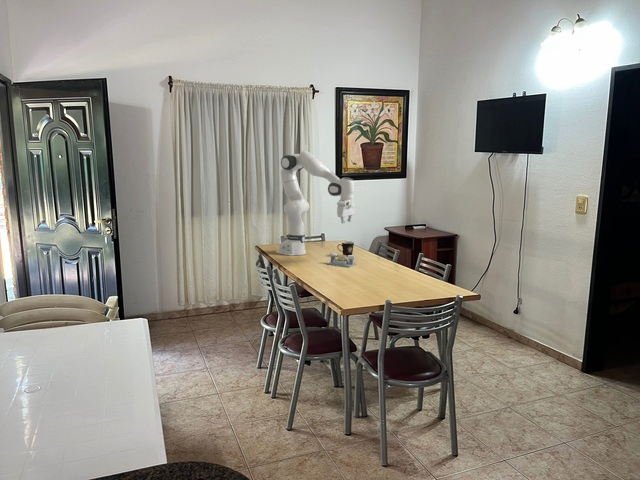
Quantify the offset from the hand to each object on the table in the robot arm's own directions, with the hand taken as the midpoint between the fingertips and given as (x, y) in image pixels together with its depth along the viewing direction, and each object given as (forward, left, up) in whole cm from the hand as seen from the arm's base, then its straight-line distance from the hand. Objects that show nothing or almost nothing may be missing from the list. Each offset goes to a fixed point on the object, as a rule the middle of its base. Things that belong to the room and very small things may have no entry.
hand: (346, 222), depth 334 cm
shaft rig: (+2, -9, -27) cm, 28 cm away
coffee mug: (-8, +17, -27) cm, 33 cm away
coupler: (+2, -9, -26) cm, 27 cm away
